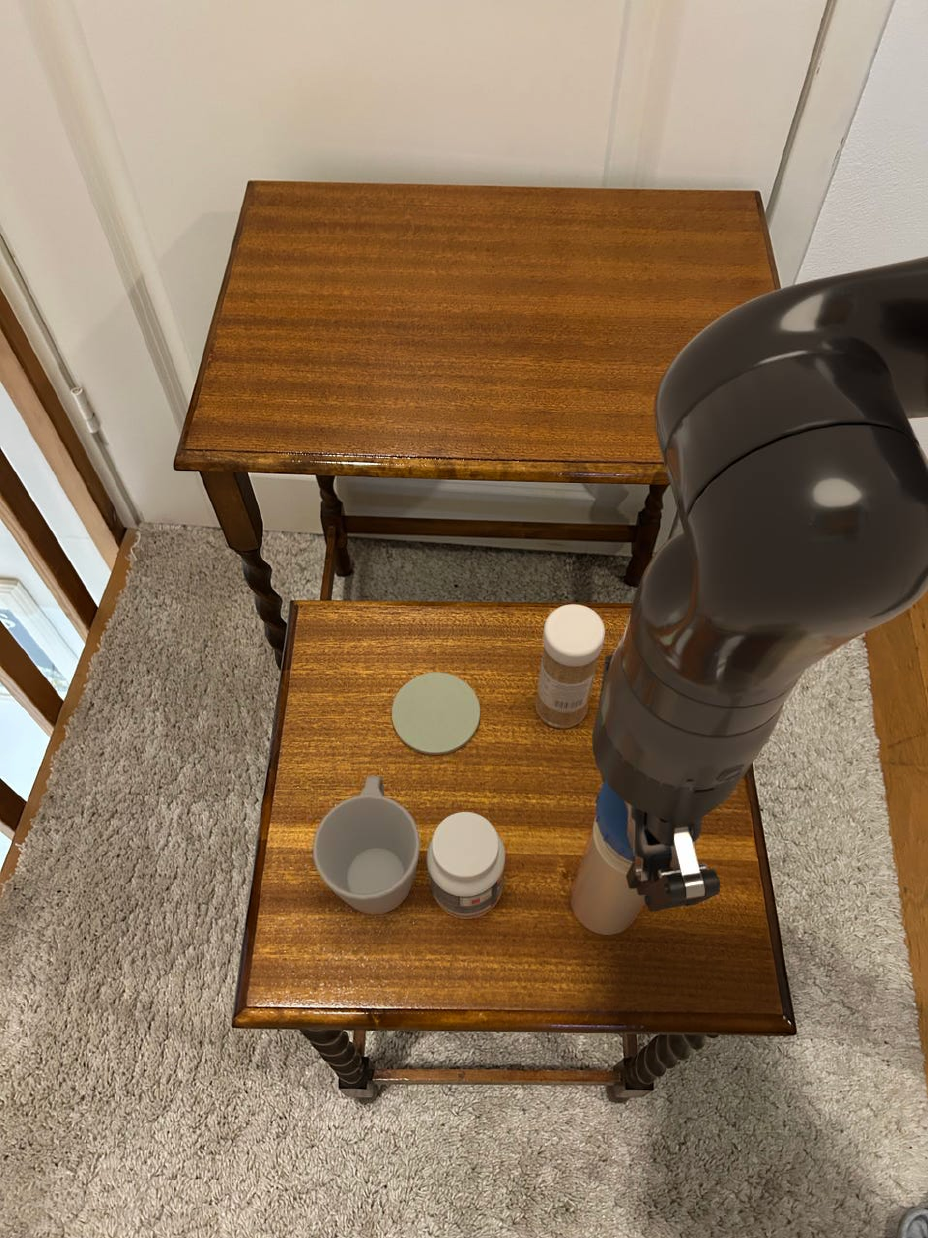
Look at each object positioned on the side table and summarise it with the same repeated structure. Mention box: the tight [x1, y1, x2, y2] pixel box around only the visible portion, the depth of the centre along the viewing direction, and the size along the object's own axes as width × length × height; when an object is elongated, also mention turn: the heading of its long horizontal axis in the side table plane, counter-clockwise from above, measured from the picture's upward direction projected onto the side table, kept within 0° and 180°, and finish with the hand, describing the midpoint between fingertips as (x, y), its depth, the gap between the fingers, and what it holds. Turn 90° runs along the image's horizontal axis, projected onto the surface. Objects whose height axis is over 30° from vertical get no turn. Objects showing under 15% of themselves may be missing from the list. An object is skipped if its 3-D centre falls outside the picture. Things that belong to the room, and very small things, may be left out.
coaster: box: [391, 671, 481, 756], centre depth 80 cm, size 8×8×1 cm
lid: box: [594, 780, 670, 861], centre depth 54 cm, size 6×6×2 cm
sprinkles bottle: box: [534, 603, 606, 730], centre depth 75 cm, size 5×5×13 cm
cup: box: [312, 775, 421, 916], centre depth 70 cm, size 8×10×8 cm
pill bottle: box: [426, 811, 506, 920], centre depth 69 cm, size 6×6×10 cm
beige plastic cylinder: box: [569, 817, 646, 936], centre depth 65 cm, size 5×5×18 cm
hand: (631, 828), depth 57 cm, fingers closed on lid, 6 cm apart
